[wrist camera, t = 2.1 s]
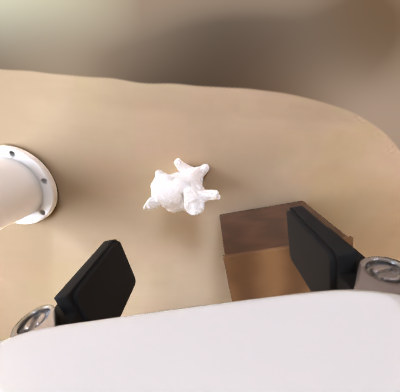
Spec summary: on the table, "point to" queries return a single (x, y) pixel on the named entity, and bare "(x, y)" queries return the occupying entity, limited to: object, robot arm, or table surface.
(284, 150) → the table surface
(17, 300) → the table surface
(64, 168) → the table surface
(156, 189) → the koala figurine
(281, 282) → the step shelf
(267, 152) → the table surface
